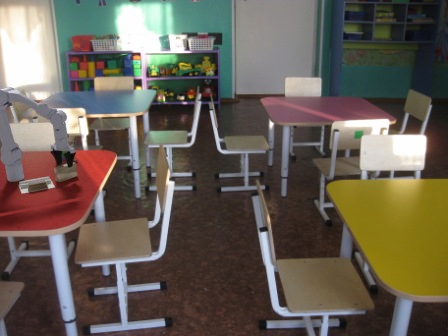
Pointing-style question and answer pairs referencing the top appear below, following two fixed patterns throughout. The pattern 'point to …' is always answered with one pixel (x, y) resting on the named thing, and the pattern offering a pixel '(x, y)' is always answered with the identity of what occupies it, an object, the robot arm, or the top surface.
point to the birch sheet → (65, 172)
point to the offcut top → (37, 184)
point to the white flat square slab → (24, 184)
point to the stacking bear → (64, 156)
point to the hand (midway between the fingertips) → (65, 165)
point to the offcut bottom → (37, 188)
